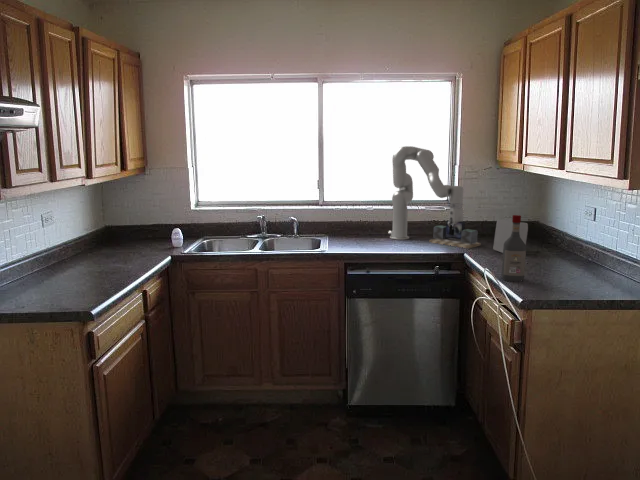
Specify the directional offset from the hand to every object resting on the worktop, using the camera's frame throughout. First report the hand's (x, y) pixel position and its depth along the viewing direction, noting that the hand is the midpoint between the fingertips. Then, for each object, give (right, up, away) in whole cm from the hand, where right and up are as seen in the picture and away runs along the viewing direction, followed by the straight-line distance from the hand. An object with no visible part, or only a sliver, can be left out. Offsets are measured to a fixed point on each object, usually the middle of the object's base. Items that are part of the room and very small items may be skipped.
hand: (454, 234), depth 341 cm
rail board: (0, -6, +1) cm, 6 cm away
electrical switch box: (+28, -11, -22) cm, 37 cm away
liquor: (+6, -22, -87) cm, 89 cm away
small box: (0, -3, 0) cm, 3 cm away
